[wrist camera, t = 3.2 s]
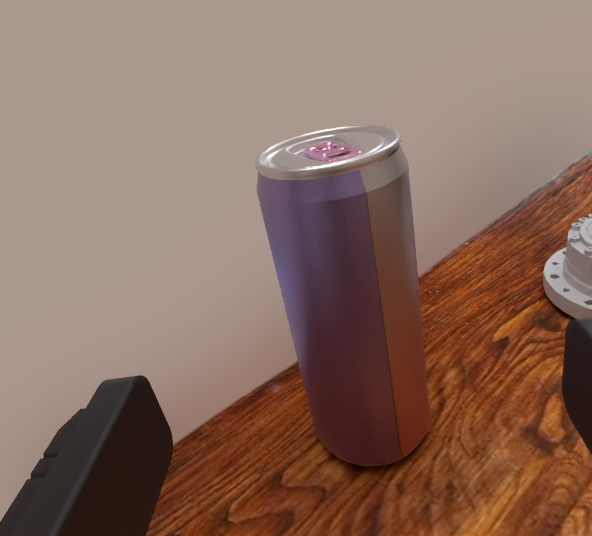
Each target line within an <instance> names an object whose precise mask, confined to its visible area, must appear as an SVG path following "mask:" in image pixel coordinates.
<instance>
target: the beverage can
mask: <svg viewBox="0 0 592 536" xmlns="http://www.w3.org/2000/svg"><path fill="white" fill-rule="evenodd" d="M400 143H401V137H400V134H399V132H397V130H395V129H393V128H390V127H386V126H376V125H358V126H346V127H338V128H331V129H326V130H320V131H316V132H311V133H307V134H304V135H300V136H297V137H293V138H291V139H287V140H285V141H282V142H280V143H277V144H275V145H273V146H271V147H269V148H267V149H266V150H264V151H263V152H261V153H260V154H259V155H258V156H257V158H256V161H255V165H256V168H257V170H258V182H257V194H258V198H259V202H260V206H261V210H262V214H263V218H264V222H265V227H266V231H267V235H268V239H269V243H270V247H271V251H272V255H273V260H274V264H275V268H276V272H277V276H278V280H279V284H280V288H281V292H282V297H283V301H284V305H285V309H286V313H287V317H288V321H289V325H290V330H291V333H292V338H293V342H294V346H295V350H296V354H297V358H298V362H299V367H300V371H301V375H302V379H303V383H304V387H305V391H306V395H307V399H308V404H309V408H310V412H311V416H312V420H313V424H314V428H315V432H316V435H317V437H318V439H319V440H320V442H321V443H322V445H323V446H324V447H325V448H326V449H327V450H328V451H330V452H331V453H332V454H334V455H335V456H337V457H338V458H340V459H342V460H344V461H346V462H349V463H352V464H355V465H359V466H369V467H373V466H383V465H387V464H391V463H394V462H396V461H398V460H400V459H402V458H404V457H405V456H407V455H408V454H409V453H411V452H412V451H413V450H414V449H415V448H416V447H417V446H418V444H419V443H420V442H421V441H422V439H423V438H424V436H425V435H426V432H427V430H428V427H429V422H430V413H429V401H428V389H427V378H426V366H425V354H424V343H423V331H422V319H421V308H420V296H419V284H418V273H417V261H416V250H415V238H414V227H413V215H412V204H411V192H410V180H409V168H408V161H407V159H406V157H405V155H404V153H403V151H402V148H401V146H400Z"/></svg>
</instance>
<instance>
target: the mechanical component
mask: <svg viewBox="0 0 592 536" xmlns="http://www.w3.org/2000/svg"><path fill="white" fill-rule="evenodd" d="M543 286H544V289H545V292H546V295H547V297H548V298H549V299H550V300H551V301H552V303H553V304H554V305H556V306H557V307H558V308H560V309H561V310H562V311H564V312H565V313H567V314H569V315H570V316H572V317H574V318H576V319H578V320H579V319H586V318H592V214H589V216H588V218H579V219H578V223H573V224H571V229H570V230H569V232H568V240H567V247H566V248H564V249H562V250H560V251H558V252H556V253H554V254H553V256H552V257H551V258H550V259H549V260H548V261H547V262H546V265H545V269H544V272H543Z"/></svg>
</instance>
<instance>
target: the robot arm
mask: <svg viewBox="0 0 592 536" xmlns="http://www.w3.org/2000/svg"><path fill="white" fill-rule="evenodd" d="M562 392H563V398H564V403H565V406H566V409H567V412H568V415H569V417H570V419H571V421H572V423H573V424H574V426H575V428H576V429H577V431H578V433H579V434H580V436H581V438H582V439H583V441H584V442H585V444H586V446H587V447H588V449H589V451H590V452H591V454H592V318H586V319H579V320H572V321H570V322H569V323H568V325H567V328H566V339H565V353H564V367H563V381H562ZM172 452H173V440H172V434H171V430H170V427H169V425H168V423H167V421H166V418H165V416H164V414H163V412H162V410H161V407H160V405H159V403H158V401H157V398H156V396H155V394H154V392H153V389H152V387H151V385H150V383H149V381H148V380H147V378H145V377H144V376H141V375H140V376H132V377H125V378H118V379H111V380H105V381H103V382H102V383H101V384H100V386H99V387H98V389H97V390H96V392H95V394H94V395H93V397H92V399H91V400H90V402H89V404H88V405H87V407H86V408H85V409H80V410H79V411H78V412H77V413H76V414H75V415H74V416H73V417H72V418H71V419H70V420H69V421H68V422H67V423H66V424H64V425H63V426H62V427H61V428H60V429H59V430H58V432H57V433H56V435H55V436H54V438H53V440H52V441H51V443H50V444H49V446H48V448H47V449H46V451H45V452H44V458H43V459H40V460H39V462H38V463H37V465H36V466H35V468H34V470H33V471H32V473H31V479H28V480H27V481H26V482H25V484H24V486H23V487H22V489H21V490H20V492H19V493H18V495H17V497H16V498H15V500H14V501H13V503H12V504H11V506H10V508H9V509H8V511H7V512H6V514H5V515H4V517H3V519H2V521H1V522H0V536H146V533H147V530H148V527H149V524H150V521H151V518H152V515H153V513H154V510H155V507H156V504H157V501H158V498H159V495H160V492H161V489H162V486H163V483H164V480H165V477H166V474H167V471H168V468H169V465H170V462H171V459H172Z"/></svg>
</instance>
